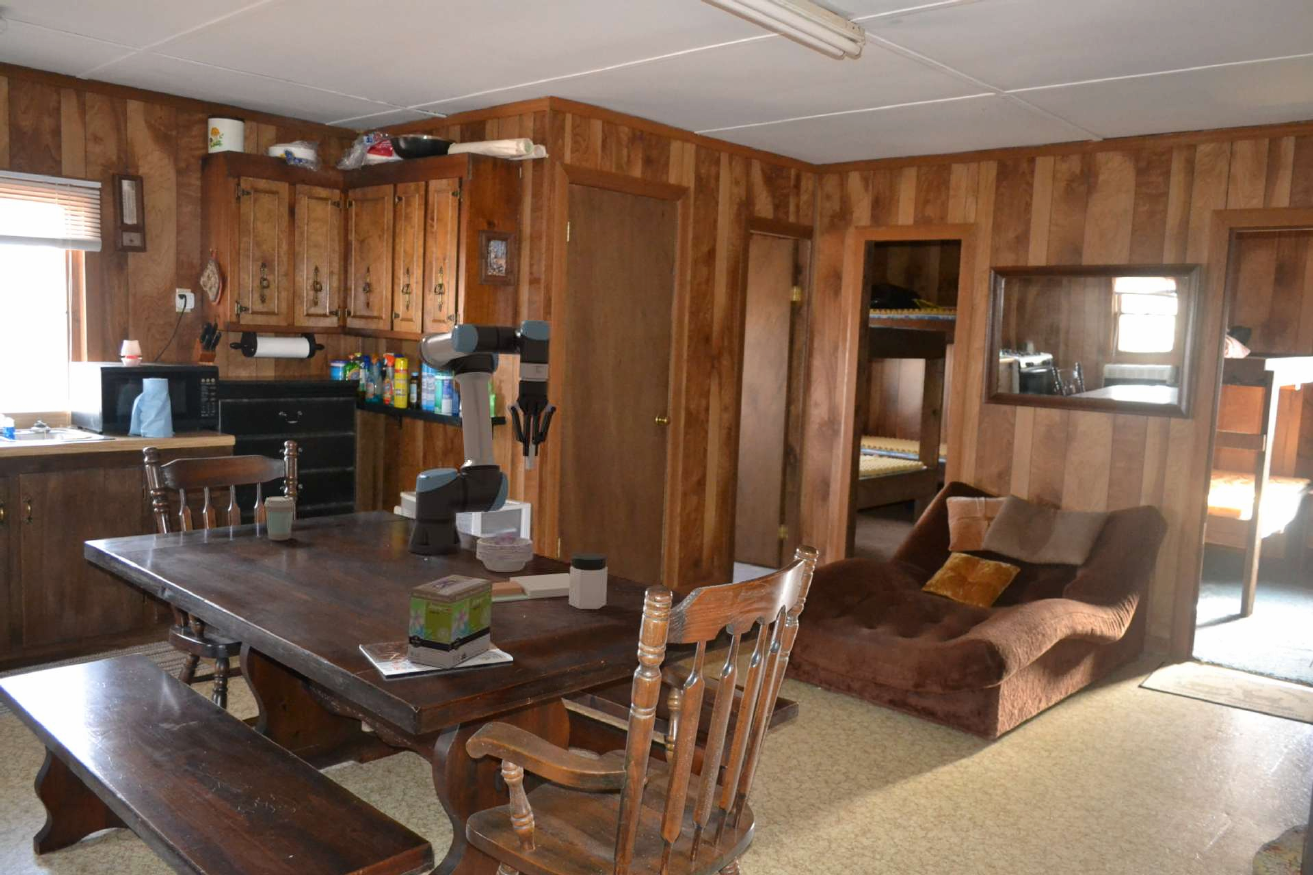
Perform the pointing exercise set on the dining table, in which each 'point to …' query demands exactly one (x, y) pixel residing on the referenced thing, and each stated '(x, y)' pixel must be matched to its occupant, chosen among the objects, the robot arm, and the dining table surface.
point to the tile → (506, 588)
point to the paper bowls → (504, 553)
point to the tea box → (449, 620)
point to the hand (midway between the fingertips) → (529, 468)
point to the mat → (509, 597)
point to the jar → (588, 581)
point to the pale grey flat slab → (544, 585)
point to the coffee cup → (279, 517)
